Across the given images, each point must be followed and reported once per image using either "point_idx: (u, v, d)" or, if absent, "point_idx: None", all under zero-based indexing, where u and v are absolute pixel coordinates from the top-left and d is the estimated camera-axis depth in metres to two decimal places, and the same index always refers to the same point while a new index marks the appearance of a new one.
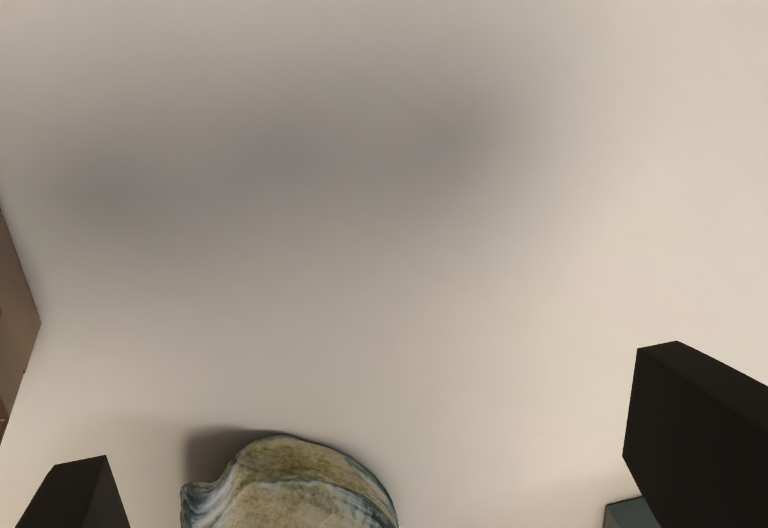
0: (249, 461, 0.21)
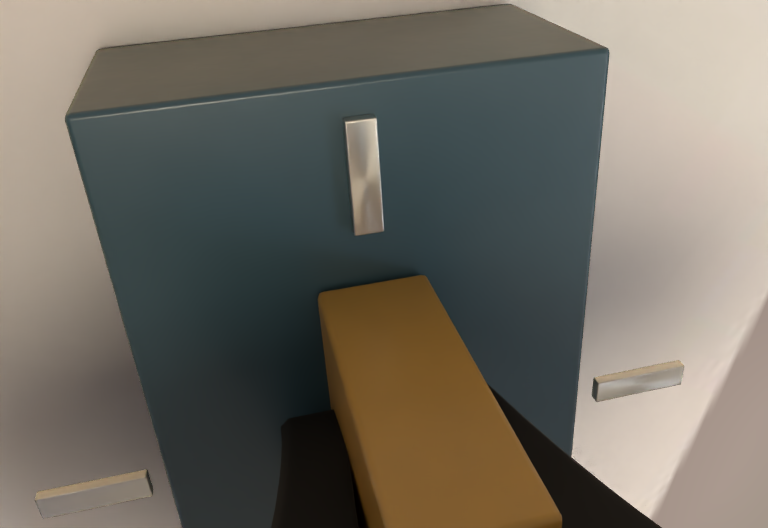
0: None
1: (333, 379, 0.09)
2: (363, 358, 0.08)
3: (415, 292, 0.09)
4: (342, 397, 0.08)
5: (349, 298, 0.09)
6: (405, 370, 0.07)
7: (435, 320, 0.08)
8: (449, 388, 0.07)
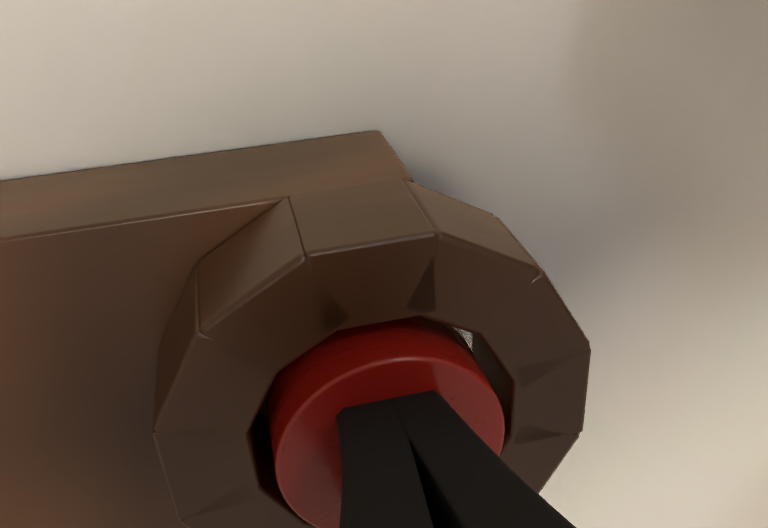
0: None
1: None
2: None
3: None
4: None
5: None
6: None
7: None
8: None
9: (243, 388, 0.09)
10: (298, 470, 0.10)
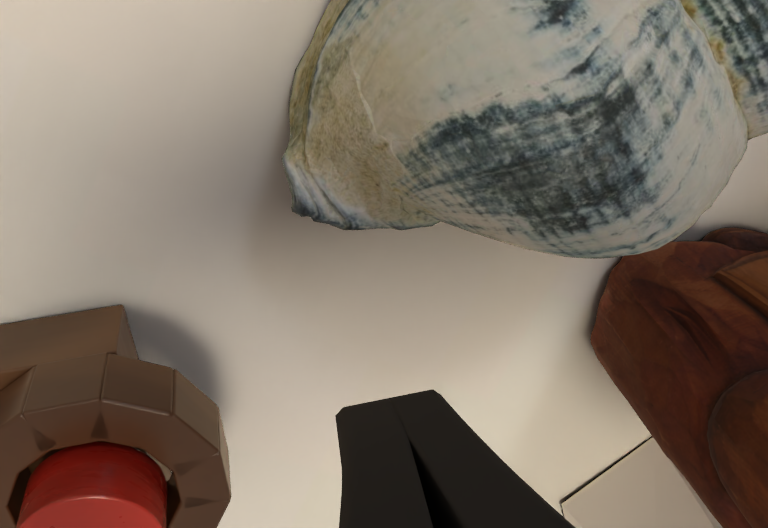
0: (296, 131, 0.17)
1: None
2: None
3: None
4: None
5: None
6: None
7: None
8: None
9: None
10: None
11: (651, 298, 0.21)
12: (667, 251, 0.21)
